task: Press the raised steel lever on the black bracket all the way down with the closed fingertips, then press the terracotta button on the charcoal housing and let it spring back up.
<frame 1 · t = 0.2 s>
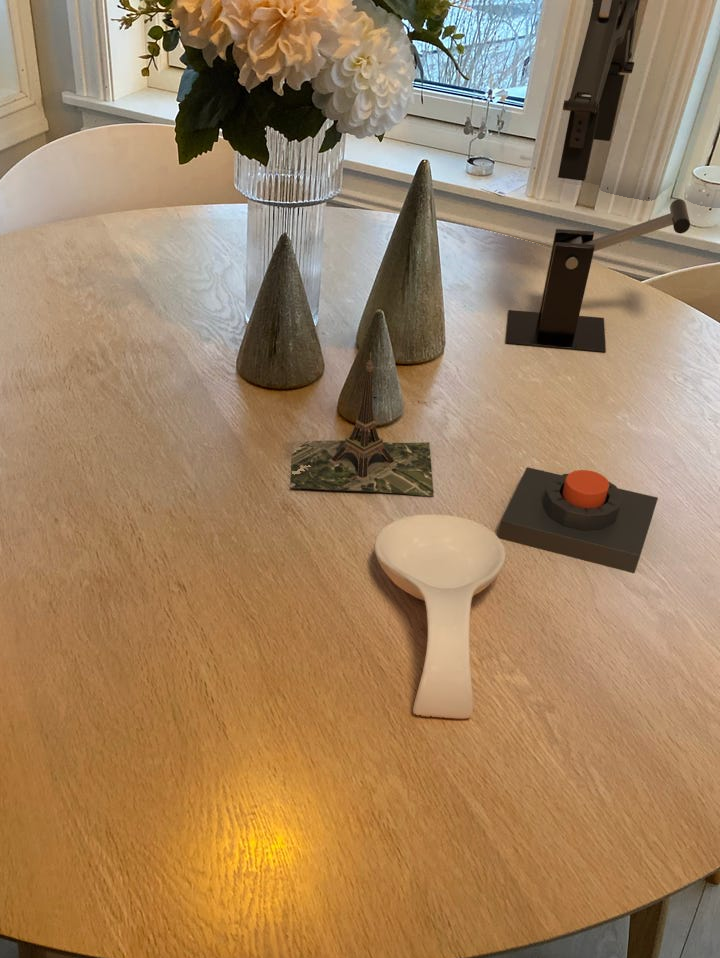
hand: (585, 158, 108), 23 cm above the table, tool pointing down, fingers open, 13 cm apart
lever: (621, 235, 116), point 13 cm above the table, hinge at 25.0°
button: (585, 489, 95), point 4 cm above the table, slide at 0.1 cm
button box: (575, 526, 98), on the table
spoon rest: (437, 624, 88), on the table
eiffel tower figurine: (360, 470, 106), on the table
bracket: (553, 339, 126), on the table
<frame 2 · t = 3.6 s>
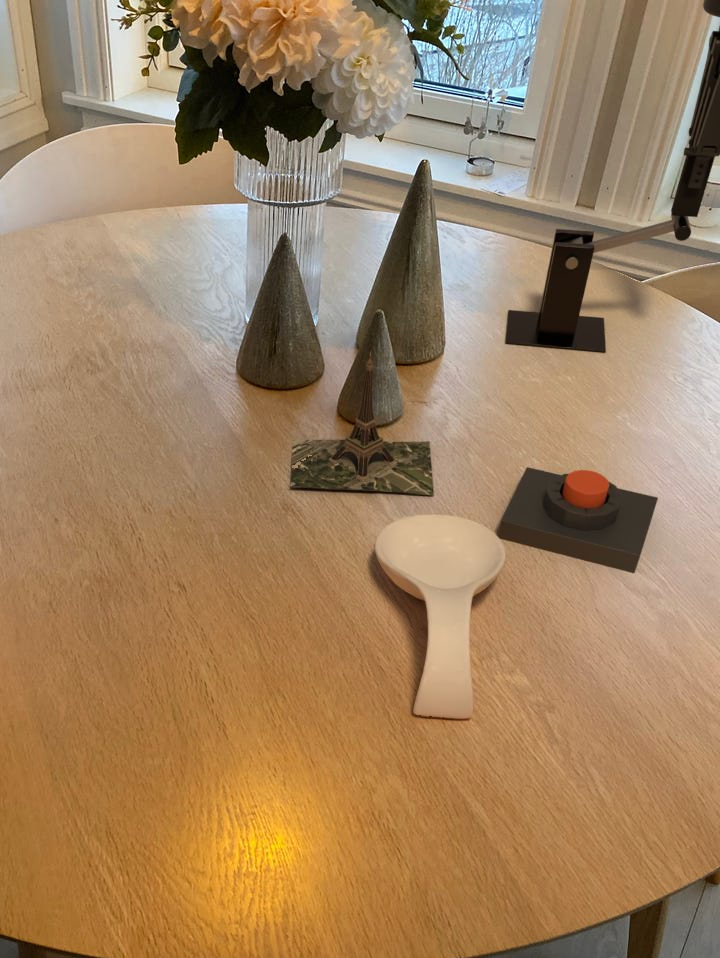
hand: (684, 213, 112), 16 cm above the table, tool pointing down, fingers closed
lever: (622, 239, 116), point 13 cm above the table, hinge at 20.8°, touching gripper
everything else where it was.
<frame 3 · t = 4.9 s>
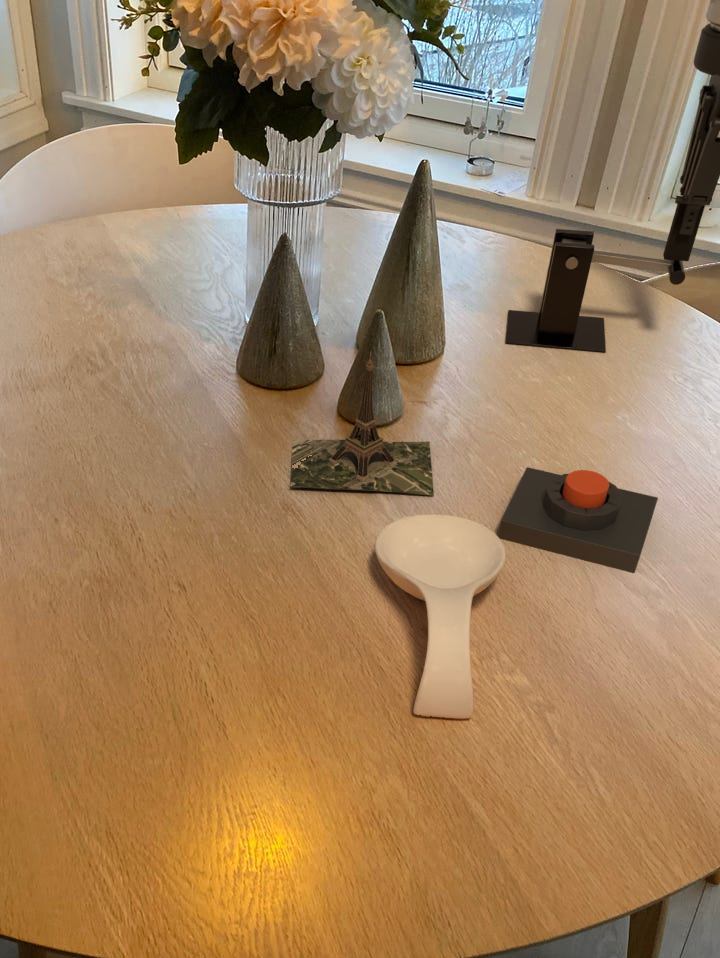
hand: (675, 257, 116), 11 cm above the table, tool pointing down, fingers closed
lever: (620, 259, 117), point 11 cm above the table, hinge at -3.7°, touching gripper
everything else where it was.
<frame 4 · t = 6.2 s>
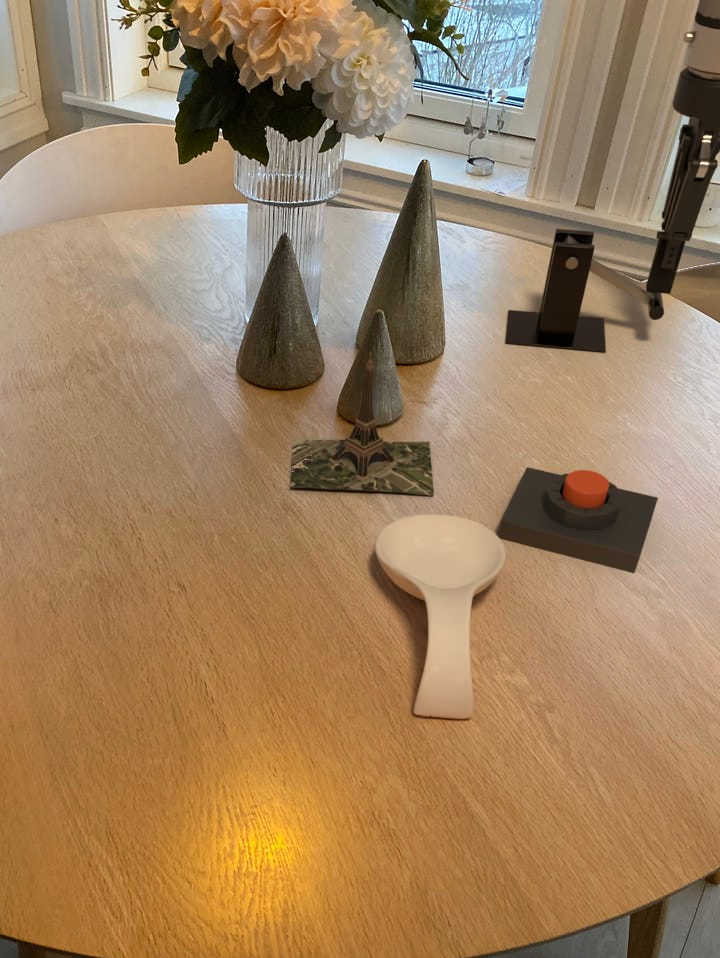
hand: (657, 290, 119), 7 cm above the table, tool pointing down, fingers closed
lever: (611, 276, 119), point 9 cm above the table, hinge at -25.7°, touching gripper
everything else where it was.
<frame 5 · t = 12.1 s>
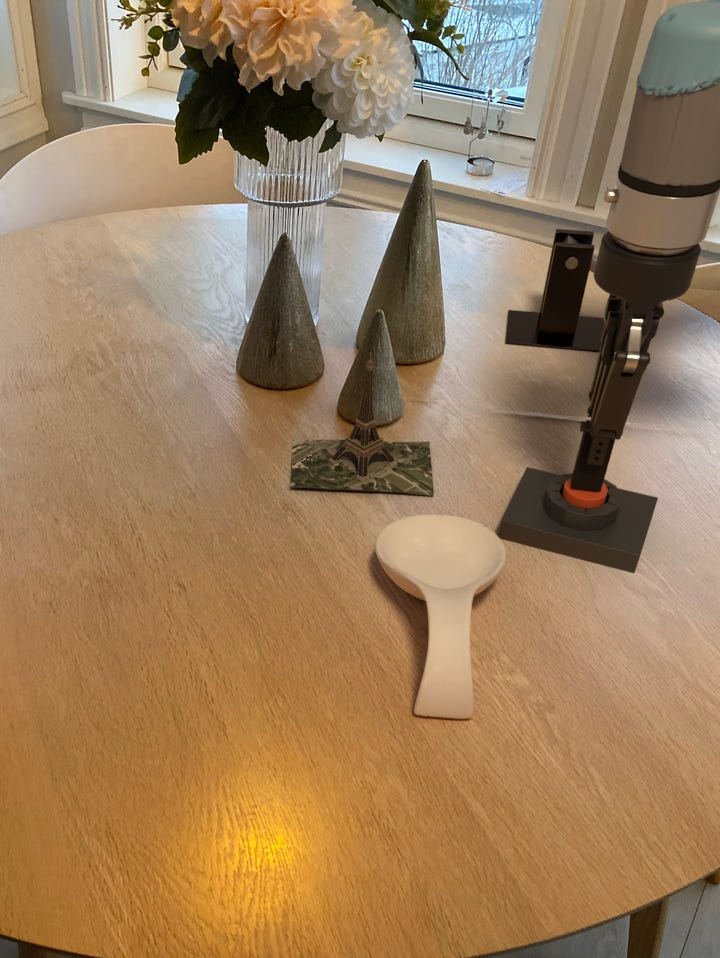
hand: (585, 485, 94), 5 cm above the table, tool pointing down, fingers closed
lever: (611, 276, 119), point 9 cm above the table, hinge at -25.7°
button: (584, 494, 95), point 4 cm above the table, slide at -0.6 cm, touching gripper
everything else where it was.
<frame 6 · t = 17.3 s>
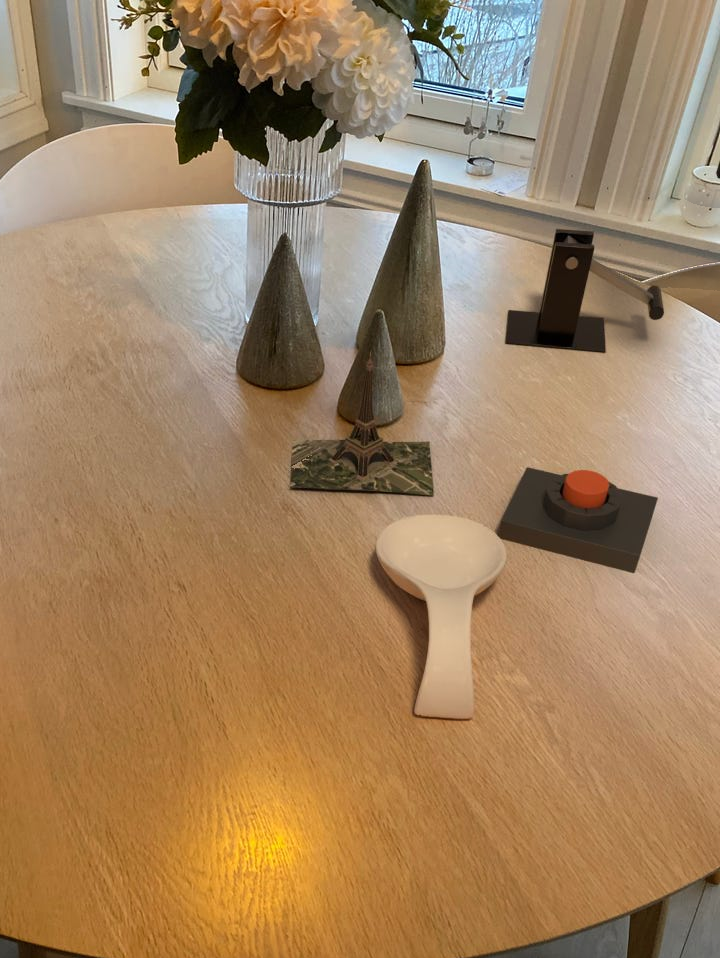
button: (585, 489, 95), point 4 cm above the table, slide at 0.1 cm
everything else where it was.
at the end: lever at -26° (first picture: +25°); button pushed in 1.0 cm at the most during the clip, back to where it started at the end; button slide at 0.1 cm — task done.
